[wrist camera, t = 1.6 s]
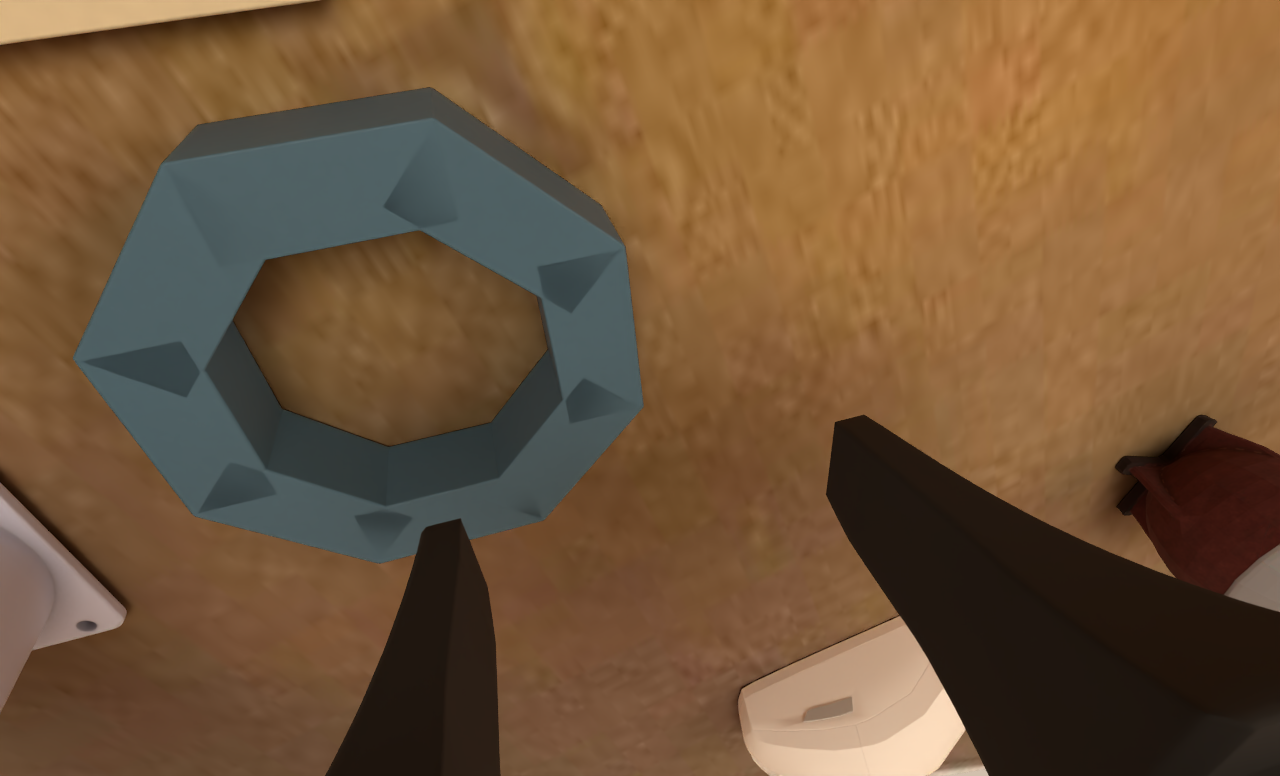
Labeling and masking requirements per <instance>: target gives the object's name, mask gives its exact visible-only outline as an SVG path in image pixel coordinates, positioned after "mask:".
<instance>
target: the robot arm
mask: <svg viewBox="0 0 1280 776" xmlns="http://www.w3.org/2000/svg"><path fill="white" fill-rule="evenodd" d="M826 495H827V497H828V500H829V502H830V504H831V506H832V508H833V510H834V512H835V514H836V516H837V518H838V520H839V522H840V524H841V526H842V528H843V530H844V532H845V533H846V535H847V537H848V539H849V541H850V542H851V544H852V545H853V547H854V549H855V550H856V552H857V553H858V555H859V556H860V558H861V559H862V561H863V562H864V564H865V565H866V567H867V568H868V570H869V571H870V572H871V574H872V575H873V577H874V578H875V580H876V581H877V583H878V584H879V586H880V587H881V589H882V590H883V592H884V593H885V595H886V596H887V597H888V599H889V600H890V602H891V603H892V605H893V606H894V608H895V609H896V611H897V612H898V614H899V615H900V617H901V618H902V619H903V621H904V622H905V624H906V625H907V627H908V628H909V630H910V631H911V633H912V634H913V636H914V637H915V639H916V640H917V642H918V644H919V645H920V647H921V648H922V650H923V652H924V653H925V655H926V656H927V658H928V660H929V662H930V664H931V665H932V667H933V669H934V671H935V673H936V675H937V676H938V678H939V680H940V682H941V684H942V685H943V687H944V689H945V691H946V693H947V695H948V696H949V698H950V700H951V702H952V704H953V706H954V708H955V710H956V711H957V713H958V715H959V717H960V719H961V721H962V723H963V725H964V727H965V729H966V731H967V733H968V735H969V737H970V739H971V741H972V742H973V744H974V746H975V748H976V750H977V752H978V754H979V756H980V758H981V760H982V762H983V764H984V767H985V769H986V771H987V773H988V775H989V776H1280V612H1278V611H1275V610H1271V609H1268V608H1264V607H1261V606H1257V605H1254V604H1250V603H1247V602H1244V601H1241V600H1238V599H1235V598H1232V597H1229V596H1226V595H1223V594H1220V593H1217V592H1214V591H1211V590H1208V589H1205V588H1202V587H1199V586H1196V585H1193V584H1190V583H1187V582H1185V581H1182V580H1179V579H1176V578H1174V577H1171V576H1168V575H1165V574H1163V573H1160V572H1157V571H1155V570H1152V569H1150V568H1147V567H1145V566H1142V565H1140V564H1137V563H1135V562H1132V561H1130V560H1127V559H1125V558H1122V557H1120V556H1117V555H1115V554H1112V553H1110V552H1108V551H1105V550H1103V549H1101V548H1099V547H1096V546H1094V545H1092V544H1089V543H1087V542H1085V541H1083V540H1081V539H1079V538H1076V537H1074V536H1072V535H1070V534H1068V533H1066V532H1064V531H1062V530H1059V529H1057V528H1055V527H1053V526H1051V525H1049V524H1047V523H1045V522H1043V521H1041V520H1039V519H1037V518H1035V517H1033V516H1031V515H1029V514H1027V513H1025V512H1023V511H1022V510H1020V509H1018V508H1016V507H1014V506H1012V505H1011V504H1009V503H1007V502H1005V501H1003V500H1001V499H1000V498H998V497H996V496H994V495H992V494H991V493H989V492H987V491H985V490H984V489H982V488H980V487H978V486H977V485H975V484H973V483H972V482H970V481H968V480H967V479H965V478H963V477H962V476H960V475H958V474H957V473H955V472H953V471H952V470H950V469H948V468H947V467H945V466H944V465H942V464H940V463H939V462H937V461H936V460H934V459H932V458H931V457H929V456H928V455H926V454H925V453H923V452H921V451H920V450H918V449H917V448H915V447H914V446H912V445H911V444H909V443H907V442H906V441H904V440H903V439H901V438H900V437H898V436H897V435H895V434H894V433H892V432H891V431H889V430H887V429H886V428H884V427H883V426H881V425H880V424H878V423H877V422H875V421H873V420H872V419H870V418H869V417H867V416H865V415H861V416H857V417H853V418H849V419H845V420H841V421H838V422H835V427H834V435H833V443H832V451H831V459H830V467H829V476H828V484H827V492H826ZM126 614H127V611H126V609H125V607H124V606H123V605H122V604H121V603H120V602H119V601H118V600H117V599H116V598H115V597H114V596H113V595H112V594H111V593H110V592H109V591H108V590H107V589H106V588H105V587H104V586H103V585H102V584H101V583H100V582H99V581H98V580H97V579H96V578H95V577H94V576H93V575H92V574H91V573H90V572H89V571H88V570H87V569H86V568H85V567H84V566H83V565H82V564H81V563H80V562H79V561H78V560H77V559H76V558H75V557H74V556H73V555H72V554H71V553H70V552H69V551H68V550H67V549H66V548H65V547H64V546H63V545H62V544H61V543H60V542H59V541H58V540H57V539H56V538H55V537H54V536H53V535H52V534H51V533H50V532H49V531H48V530H47V529H46V528H45V527H44V526H43V525H42V524H41V523H40V522H39V521H38V520H37V519H36V518H35V517H34V516H33V515H32V514H31V513H30V512H29V511H28V510H27V509H26V508H25V507H24V506H23V505H22V504H21V503H20V502H19V501H18V500H17V499H16V498H15V497H14V496H13V495H12V494H11V493H10V492H9V491H8V490H7V489H6V488H5V487H4V486H3V485H2V484H1V483H0V713H1V711H2V709H3V707H4V705H5V703H6V701H7V699H8V697H9V695H10V693H11V691H12V689H13V687H14V685H15V683H16V681H17V679H18V677H19V675H20V673H21V671H22V669H23V667H24V665H25V663H26V661H27V659H28V657H29V655H30V653H31V651H32V650H36V649H40V648H44V647H47V646H51V645H55V644H59V643H63V642H66V641H70V640H74V639H78V638H82V637H85V636H89V635H93V634H97V633H101V632H104V631H108V630H112V629H115V628H117V627H120V626H121V625H122V624H123V622H124V620H125V617H126ZM325 776H500V758H499V727H498V696H497V667H496V641H495V634H494V627H493V619H492V613H491V606H490V599H489V593H488V587H487V584H486V582H485V579H484V576H483V574H482V571H481V569H480V566H479V564H478V561H477V559H476V556H475V554H474V551H473V548H472V546H471V543H470V541H469V538H468V536H467V533H466V531H465V528H464V525H463V523H462V520H461V518H459V519H455V520H451V521H447V522H443V523H439V524H435V525H432V526H428V527H426V528H425V529H424V530H423V531H422V533H421V537H420V541H419V545H418V549H417V553H416V556H415V560H414V564H413V567H412V571H411V574H410V577H409V580H408V583H407V587H406V590H405V593H404V596H403V599H402V602H401V605H400V608H399V610H398V613H397V616H396V619H395V621H394V624H393V627H392V630H391V633H390V635H389V638H388V641H387V643H386V646H385V648H384V651H383V654H382V656H381V658H380V661H379V663H378V665H377V668H376V670H375V672H374V675H373V677H372V680H371V682H370V684H369V687H368V689H367V691H366V694H365V696H364V698H363V701H362V703H361V705H360V707H359V709H358V711H357V714H356V716H355V718H354V720H353V722H352V724H351V726H350V728H349V730H348V732H347V735H346V736H345V738H344V740H343V742H342V744H341V746H340V748H339V750H338V752H337V754H336V756H335V758H334V760H333V762H332V764H331V766H330V768H329V770H328V771H327V773H326V775H325Z"/></svg>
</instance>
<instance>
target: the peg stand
mask: <svg viewBox="0 0 1280 776" xmlns="http://www.w3.org/2000/svg"><path fill="white" fill-rule="evenodd" d="M314 1H320V0H0V45H3V44H10V43H18V42H25V41H32V40H39V39H46V38H54V37H61V36H68V35H75V34H83V33H90V32H97V31H104V30H111V29H119V28H126V27H133V26H140V25H148V24H155V23H162V22H169V21H176V20H184V19H191V18H198V17H205V16H213V15H220V14H227V13H234V12H241V11H249V10H256V9H263V8H270V7H278V6H285V5H292V4H299V3H306V2H314Z"/></svg>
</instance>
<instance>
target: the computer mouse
mask: <svg viewBox="0 0 1280 776" xmlns="http://www.w3.org/2000/svg"><path fill="white" fill-rule="evenodd" d="M738 711H739V717H740V722H741V728H742V733H743V738H744V742H745V744H746V747H747V749H748V752H749V753H750V754H751V756H752V758H753V760H754V761H755V763H756V764H757V765H758V766H759V767H760V768H761V769H762V770H763V771H764V772H766V773H767V774H768V775H769V776H928V775H929V774H931V773H932V772H934V771H935V770H937V769H938V768H939V767H940V766H941V764H942V763H943V761H944V760H945V759H946V757H947V756H948V754H949V753H950V751H951V750H952V749H953V747H954V746H955V744H956V743H957V741H958V740H959V738H960V737H961V736H962V734H963V733H964V731H965V727H964V725H963V723H962V721H961V719H960V717H959V715H958V713H957V711H956V710H955V708H954V706H953V704H952V702H951V700H950V698H949V696H948V695H947V693H946V691H945V689H944V687H943V685H942V684H941V682H940V680H939V678H938V676H937V675H936V673H935V671H934V669H933V667H932V665H931V664H930V662H929V660H928V658H927V656H926V655H925V653H924V652H923V650H922V648H921V647H920V645H919V644H918V642H917V640H916V639H915V637H914V636H913V634H912V633H911V631H910V630H909V628H908V627H907V625H906V624H905V622H904V621H903V619H902V618H901V617H900V616H899V617H896V618H894V619H892V620H890V621H887V622H885V623H883V624H881V625H878V626H876V627H874V628H872V629H869V630H867V631H865V632H863V633H860V634H858V635H856V636H854V637H851V638H849V639H847V640H845V641H842V642H840V643H838V644H836V645H833V646H831V647H829V648H827V649H824V650H822V651H820V652H818V653H815V654H813V655H811V656H809V657H807V658H804V659H802V660H800V661H798V662H795V663H793V664H791V665H789V666H787V667H785V668H783V669H780V670H778V671H776V672H774V673H772V674H770V675H768V676H766V677H763V678H761V679H759V680H757V681H755V682H753V683H751V684H750V685H748V686H746V687H745V688H743V689H742V690H741V693H740V696H739V699H738Z"/></svg>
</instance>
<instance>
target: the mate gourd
mask: <svg viewBox="0 0 1280 776" xmlns="http://www.w3.org/2000/svg"><path fill="white" fill-rule="evenodd" d="M1216 423H1217V421H1216V420H1215V419H1212V418H1210V417H1208V416H1206V415H1200V416H1198V417H1197V418H1196V419H1195V420H1194V421H1193V422H1192V423H1191V424H1190V425H1189V426H1188V427H1187V429H1186V430H1185V431H1184V432H1183V433H1182V434H1181V435H1180V436H1179V437H1178V439H1177V440H1176V441H1175V442H1174V443H1173V444H1172V445H1171V446H1170V447H1169V449H1168V450H1167V451H1166V452H1165V453H1164V454H1163V455H1161V456H1160V457H1137V456H1125V457H1124V458H1122V459H1121V461H1120V462H1119V463H1118V464H1117V465H1116V469H1117V470H1118V471H1119V472H1120V473H1121V474H1126V475H1133V476H1135V477H1136V478H1137V479H1138V480H1139V482H1138V483H1137V484H1136V486H1135V487H1134V488H1133V489H1132V490H1131V491H1130V492H1129V493H1128V494H1127V496H1126V497H1125V498H1124V499H1123V500H1122V501H1121V502H1120V504H1119V505H1118V506H1117V508H1118V509H1119V510H1120V511H1121V512H1122V514H1123V515H1131V514H1132V515H1133V516H1134V517H1135V518H1136V520H1137V521H1138V522H1139V524H1140V525H1141V527H1142V528H1143V530H1144V531H1145V533H1146V534H1147V536H1148V537H1149V538H1150V540H1151V541H1152V543H1153V544H1154V546H1155V548H1156V550H1157V552H1158V554H1159V555H1160V557H1161V558H1162V560H1163V561H1164V563H1165V564H1166V566H1167V567H1168V569H1169V570H1170V572H1171V573H1172V574H1173V575H1174V576H1175V577H1176V578H1177V579H1179V580H1182V581H1185V582H1187V583H1190V584H1193V585H1196V586H1199V587H1202V588H1205V589H1208V590H1211V591H1214V592H1217V593H1220V594H1223V595H1226V596H1229V597H1232V598H1235V599H1238V600H1241V601H1244V602H1247V603H1250V604H1254V605H1257V606H1261V607H1264V608H1268V609H1271V610H1275V611H1278V612H1280V455H1279V454H1277V453H1275V452H1274V451H1272V450H1270V449H1268V448H1266V447H1264V446H1262V445H1259V444H1256V443H1254V442H1251V441H1249V440H1246V439H1243V438H1241V437H1238V436H1235V435H1232V434H1229V433H1226V432H1224V431H1221V430H1219V429H1217V428H1214V427H1213V426H1214V425H1215V424H1216Z"/></svg>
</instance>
